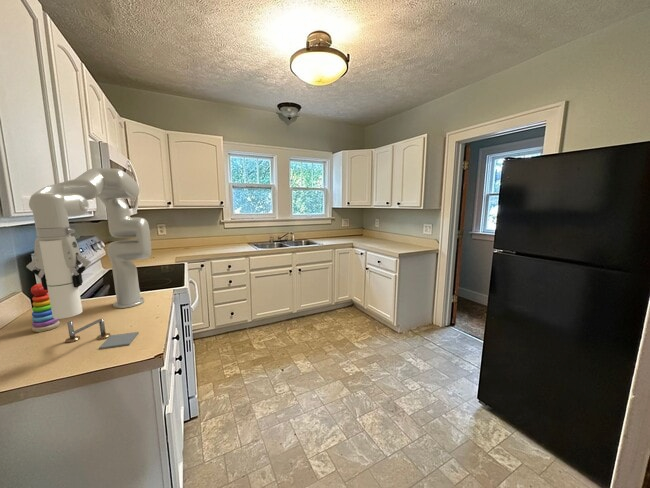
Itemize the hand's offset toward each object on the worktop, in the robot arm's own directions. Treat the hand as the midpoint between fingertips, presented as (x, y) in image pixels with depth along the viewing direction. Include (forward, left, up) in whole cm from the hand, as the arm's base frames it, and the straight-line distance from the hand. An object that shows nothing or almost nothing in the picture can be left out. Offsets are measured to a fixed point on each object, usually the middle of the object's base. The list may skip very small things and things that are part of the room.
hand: (63, 287), depth 88 cm
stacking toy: (-25, -21, -23) cm, 40 cm away
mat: (-4, +12, -23) cm, 26 cm away
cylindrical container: (0, 0, -9) cm, 9 cm away
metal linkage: (-5, 0, -23) cm, 24 cm away
